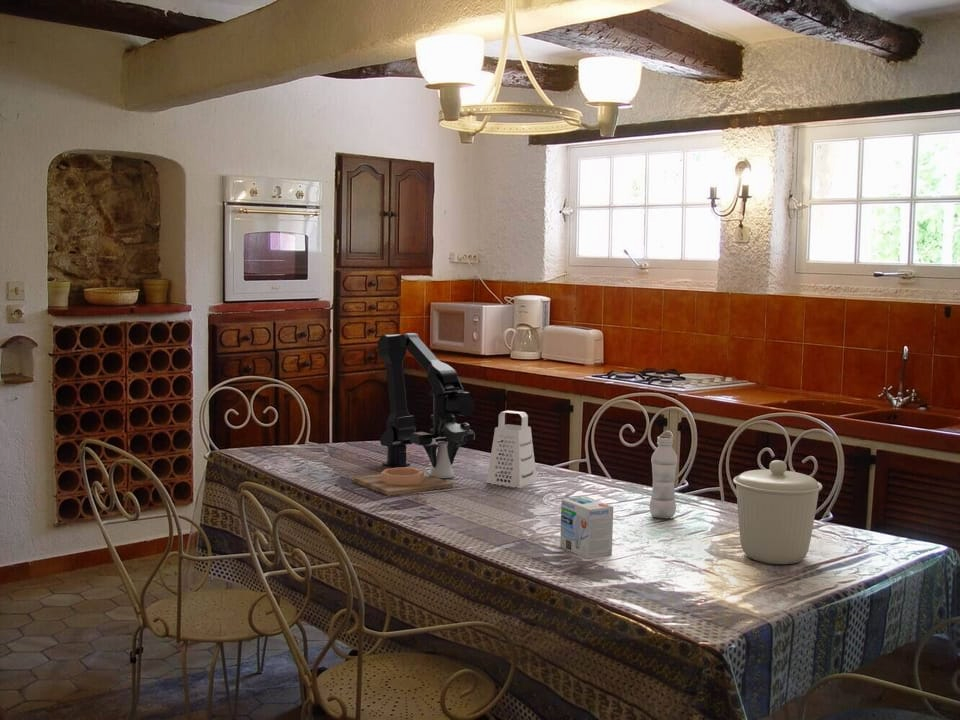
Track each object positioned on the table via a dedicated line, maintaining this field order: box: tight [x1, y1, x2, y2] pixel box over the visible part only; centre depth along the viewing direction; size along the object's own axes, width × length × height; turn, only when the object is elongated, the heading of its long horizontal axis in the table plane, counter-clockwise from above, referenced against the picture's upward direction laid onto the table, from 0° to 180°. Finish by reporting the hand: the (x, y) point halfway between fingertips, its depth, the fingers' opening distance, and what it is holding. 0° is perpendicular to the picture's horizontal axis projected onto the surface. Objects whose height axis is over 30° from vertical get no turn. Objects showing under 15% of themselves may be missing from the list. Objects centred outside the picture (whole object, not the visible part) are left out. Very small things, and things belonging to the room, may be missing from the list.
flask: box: [429, 440, 456, 479], centre depth 290 cm, size 7×7×10 cm
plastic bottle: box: [648, 435, 679, 519], centre depth 246 cm, size 6×7×20 cm
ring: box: [380, 466, 425, 485], centre depth 279 cm, size 11×11×2 cm
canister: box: [732, 459, 823, 565], centre depth 214 cm, size 18×18×21 cm
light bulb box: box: [559, 495, 614, 560], centre depth 217 cm, size 11×7×11 cm, turn 29°
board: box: [352, 472, 453, 497], centre depth 279 cm, size 20×20×1 cm
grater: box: [486, 409, 538, 489], centre depth 283 cm, size 10×10×20 cm
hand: (442, 466), depth 290 cm, fingers closed on flask, 5 cm apart
